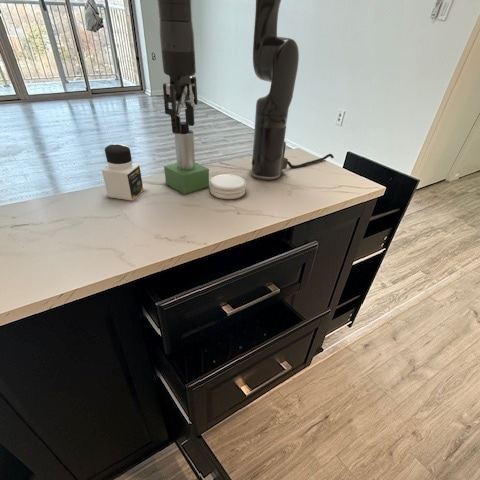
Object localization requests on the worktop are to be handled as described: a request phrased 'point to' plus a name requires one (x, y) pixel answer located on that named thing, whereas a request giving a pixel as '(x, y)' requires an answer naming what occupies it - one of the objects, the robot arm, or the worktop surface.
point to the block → (187, 178)
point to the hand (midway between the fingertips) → (183, 129)
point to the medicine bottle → (121, 173)
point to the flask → (185, 148)
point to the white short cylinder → (227, 186)
